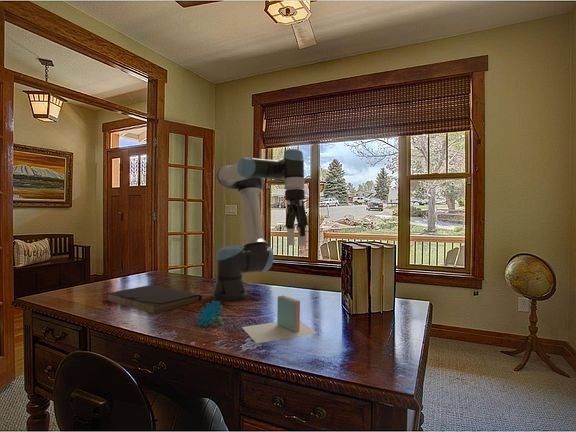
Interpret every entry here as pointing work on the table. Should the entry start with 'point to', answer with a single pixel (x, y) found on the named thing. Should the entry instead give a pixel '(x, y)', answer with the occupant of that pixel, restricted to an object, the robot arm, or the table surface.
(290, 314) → the tile
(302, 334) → the felt mat
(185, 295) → the dark hardcover book
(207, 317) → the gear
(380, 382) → the table surface
